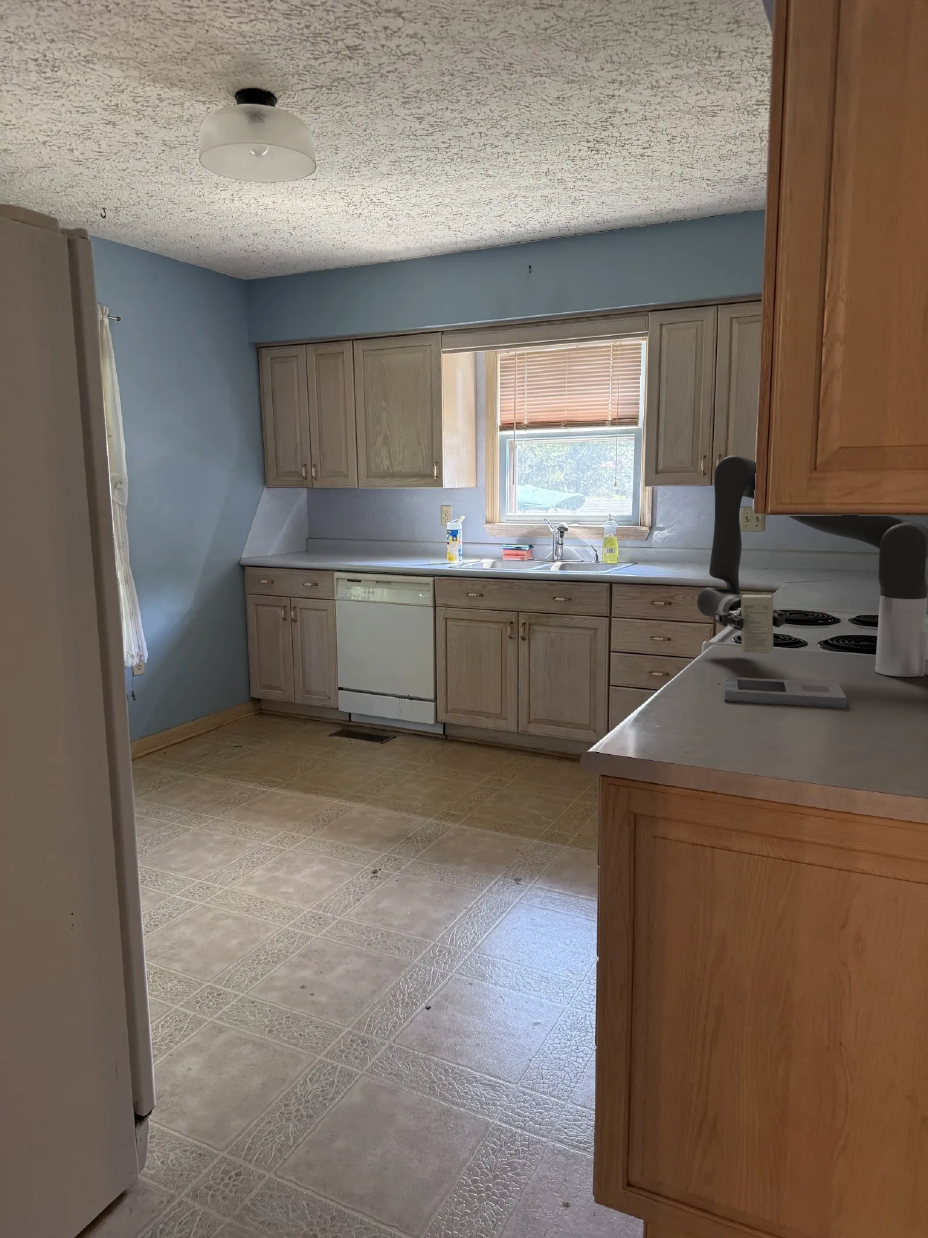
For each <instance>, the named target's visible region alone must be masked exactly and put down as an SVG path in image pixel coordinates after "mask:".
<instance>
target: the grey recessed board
mask: <svg viewBox="0 0 928 1238" xmlns="http://www.w3.org/2000/svg"><path fill="white" fill-rule="evenodd" d="M723 686H724V687H723V688H724V692H723V693H724V699H723V700H728V701H727V702H733V701H741V702H740V703H749V702H754V703H753V704H770V705H782V704H787V706H799V705H802V706H803V707H817V708H819V707H820V708H832V707H834V708H836V709H847V703H848V702H847V699H848V697H847V696H846V694H845V693H844V691H843V689H842V686H841V685H840V684H839V682H834V681H832V682H831V681H816V680H815V681H814V680H813V681H812V680H795V679H794V680H793V679H775V678H757V677H756V678H755V677H737V676H736V677H735V676H724V685H723Z"/></svg>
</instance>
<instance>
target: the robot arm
mask: <svg viewBox="0 0 928 1238" xmlns="http://www.w3.org/2000/svg"><path fill="white" fill-rule="evenodd" d="M756 463H757V462H756V461H755V460H752V459H749V458H747V457H743V456H739V455H729V456H726V457H724V458H722V460H720V461H719V462H718V464H717V465H716V467H715V470H714V476H713V477H714V479H713V480H714V481H713V484H714V486H713V487H714V526H713V528H714V529H713V540H712V547H711V555H710V560H709V561H710V562H709V571H708V572H709V576H711V577H712V578H714V579H718V580H721V581H723V582H724V583H725V585H726V588H719V587H705V588H703V589H702V590H701V591H700V592H699V594H698V596H697V598H696V605H697V608H698V610H699V612H700V613H701V614H702V615H704V616H706V617H709V618H714V619H715V623H717V624H718V625H720V626H723V627H728V626H729V627H731V628H733V629H734V630H736V631H738V632H739V631H741V628H743V626H744V619H743V618H742V617H741V597H742V596H743V595H742V594H741V589H740V588H741V587H740V579H739V578H740V576H739V575H740V573H739V572H740V564H741V556H742V546H743V545H742V543H743V541H742V532H741V531H742V530H741V521H740V519H741V518H740V517H741V505H742V501H743V497H745V498H750V499H752V500H755V499H754V490H755V473H756ZM788 517H789V518H791V519H793V520H795V521H796V522H798V523H800V524H803V525H805V526H807V527H810V528H813V529H814V530H818V531H820V532H824V533H828V534H829V535H830V534H831V535H833V536H838V537H843V538H848V539H851V540H857V541H860V542H863V543H865V544H868V545H871V546H873V547H875V548H876V549H879V556H878V583H879V587H880V590H879V605H878V607H879V609H878V625H877V635H876V636H877V637H876V639H877V640H876V651H875V653H876V654H875V662H874V663H875V668H874V670H875V672H876V673H878V674H880V675H884V676H891V677H904V678H910V677H911V678H913V677H915V678H916V677H924V676H925V669H926V667H925V666H926V653H927V641H928V640H927V638H928V633H926V620H927V619H926V618H927V604H928V603H927V602H928V584H927V579H926V570H927V568H926V567H927V566H926V565H927V559H928V527H926V526H925V525H923V524H921V523H919V522H914V521H910V520H907V519H901V518H898V517H895V516H893V515H888V516H858V515H842V516H788ZM785 617H786V613H785V612H783V611H781V610H778V609H774V608H773V627H775V628H781V627H782V626H783V625H785V619H786V618H785Z"/></svg>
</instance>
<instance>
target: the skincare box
mask: <svg viewBox="0 0 928 1238" xmlns="http://www.w3.org/2000/svg"><path fill="white" fill-rule="evenodd" d="M741 596H742V597H741V617H742V618H743V619H744V626H743V628H741V636H740V637H741V653H749V654H751V653H752V654H755V653H756V654H772V653H773V652H774V626H773V610H774V595H773V594H743V595H741Z"/></svg>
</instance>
